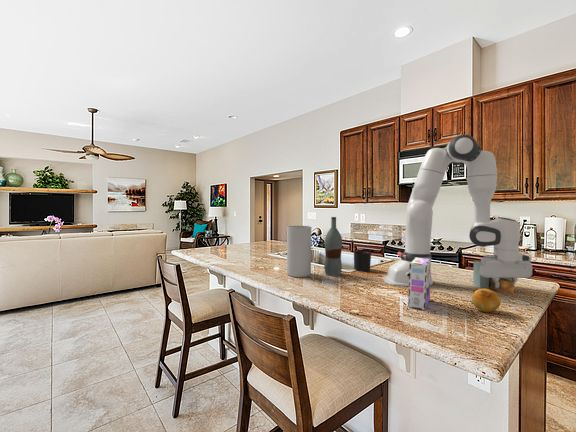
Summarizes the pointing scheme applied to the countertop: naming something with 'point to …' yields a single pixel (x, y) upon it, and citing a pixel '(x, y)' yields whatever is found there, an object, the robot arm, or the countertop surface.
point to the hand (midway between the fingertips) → (504, 287)
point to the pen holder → (362, 260)
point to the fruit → (486, 300)
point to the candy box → (419, 283)
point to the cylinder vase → (299, 251)
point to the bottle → (333, 250)
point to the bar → (503, 285)
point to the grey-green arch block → (480, 280)
